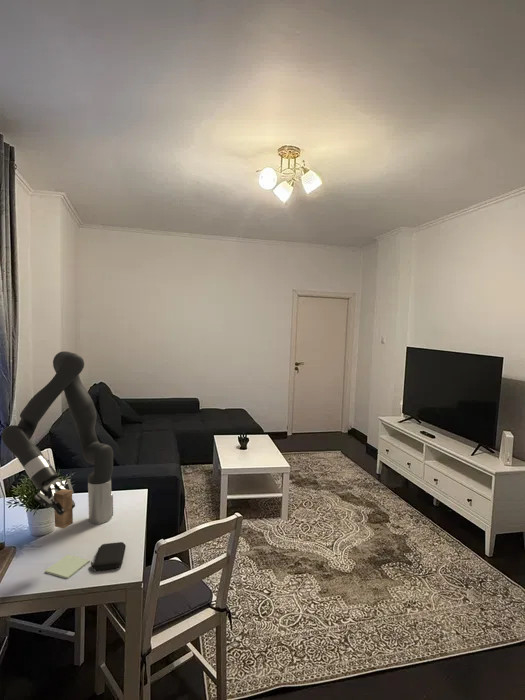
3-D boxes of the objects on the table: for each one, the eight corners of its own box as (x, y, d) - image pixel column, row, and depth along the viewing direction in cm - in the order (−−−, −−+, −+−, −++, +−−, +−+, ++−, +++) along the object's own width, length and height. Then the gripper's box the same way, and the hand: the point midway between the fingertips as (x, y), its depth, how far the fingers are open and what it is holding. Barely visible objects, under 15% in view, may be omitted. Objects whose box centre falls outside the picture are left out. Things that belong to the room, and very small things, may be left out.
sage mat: (67, 556, 146) (67, 554, 146) (89, 561, 143) (89, 560, 143) (44, 572, 137) (44, 570, 137) (67, 578, 133) (67, 577, 133)
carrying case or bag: (96, 550, 150) (88, 575, 136) (96, 542, 150) (88, 566, 136) (126, 547, 153) (121, 571, 138) (126, 539, 153) (121, 562, 138)
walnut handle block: (64, 521, 143) (63, 488, 142) (72, 523, 141) (72, 490, 140) (54, 526, 139) (53, 493, 138) (63, 528, 138) (62, 495, 137)
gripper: (28, 472, 134) (56, 514, 131) (62, 459, 148) (89, 496, 145) (17, 485, 137) (45, 526, 134) (52, 470, 150) (78, 507, 147)
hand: (68, 510), depth 139 cm, fingers closed on walnut handle block, 4 cm apart
